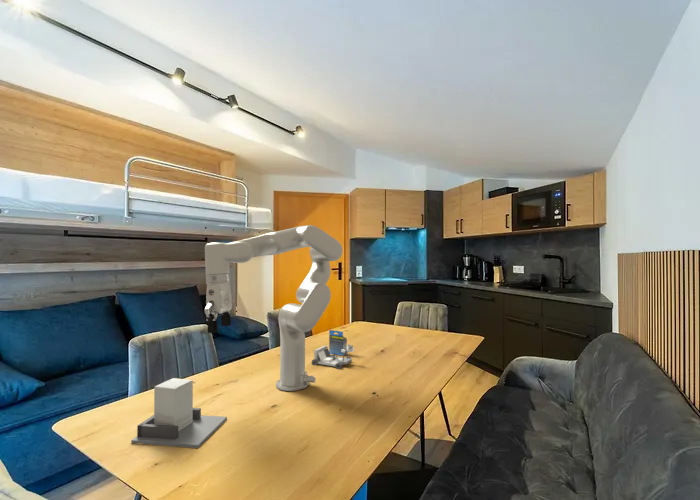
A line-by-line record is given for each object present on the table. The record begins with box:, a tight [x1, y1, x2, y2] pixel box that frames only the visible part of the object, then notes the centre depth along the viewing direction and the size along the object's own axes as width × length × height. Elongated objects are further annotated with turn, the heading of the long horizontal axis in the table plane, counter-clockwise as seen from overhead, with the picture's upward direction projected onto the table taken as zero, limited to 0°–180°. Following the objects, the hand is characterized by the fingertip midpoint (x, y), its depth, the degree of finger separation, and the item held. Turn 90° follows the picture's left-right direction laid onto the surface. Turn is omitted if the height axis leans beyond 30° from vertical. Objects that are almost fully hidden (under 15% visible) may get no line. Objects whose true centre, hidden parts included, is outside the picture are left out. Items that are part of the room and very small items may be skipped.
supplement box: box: [153, 377, 194, 432], centre depth 100 cm, size 7×7×13 cm
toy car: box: [311, 343, 355, 370], centre depth 162 cm, size 18×10×12 cm
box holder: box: [130, 407, 228, 449], centre depth 99 cm, size 19×16×4 cm
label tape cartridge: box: [328, 329, 348, 357], centre depth 178 cm, size 9×4×12 cm, turn 58°
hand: (219, 329), depth 118 cm, fingers open, 9 cm apart
